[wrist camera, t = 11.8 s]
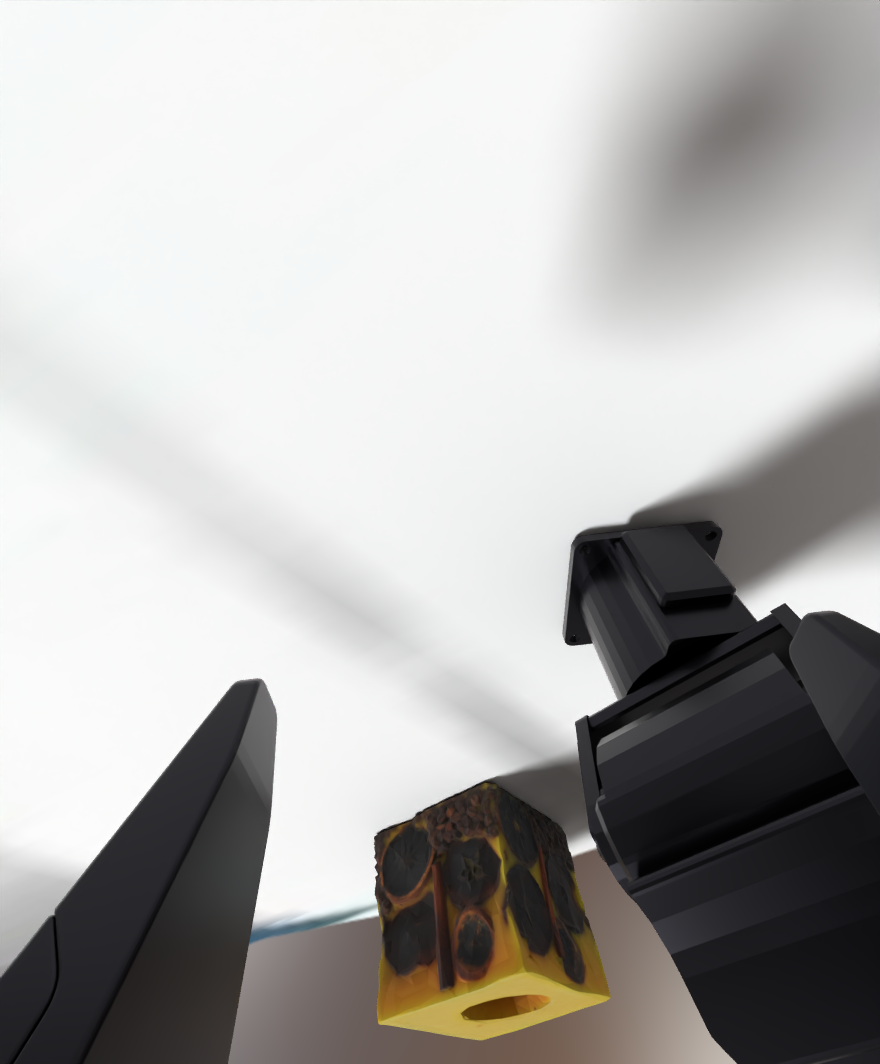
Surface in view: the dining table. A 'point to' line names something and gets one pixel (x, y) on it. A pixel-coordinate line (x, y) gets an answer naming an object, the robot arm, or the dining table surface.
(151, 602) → the dining table surface
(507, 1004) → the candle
